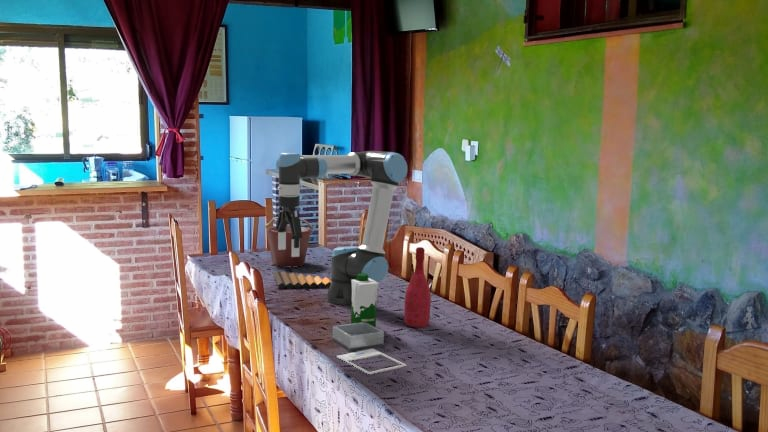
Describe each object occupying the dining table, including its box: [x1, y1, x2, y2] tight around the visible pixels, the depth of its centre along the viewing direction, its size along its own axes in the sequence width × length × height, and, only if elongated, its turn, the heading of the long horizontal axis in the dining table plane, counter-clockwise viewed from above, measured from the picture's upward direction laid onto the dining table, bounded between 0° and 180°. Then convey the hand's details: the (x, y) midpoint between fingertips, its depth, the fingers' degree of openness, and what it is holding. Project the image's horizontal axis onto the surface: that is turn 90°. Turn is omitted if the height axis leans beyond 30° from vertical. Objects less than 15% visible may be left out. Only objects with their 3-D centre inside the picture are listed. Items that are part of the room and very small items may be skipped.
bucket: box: [264, 216, 314, 268], centre depth 365 cm, size 24×22×25 cm
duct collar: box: [332, 322, 385, 352], centre depth 243 cm, size 13×13×5 cm
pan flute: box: [272, 270, 331, 290], centre depth 329 cm, size 25×3×25 cm
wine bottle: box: [403, 246, 432, 329], centre depth 266 cm, size 10×10×30 cm
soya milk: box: [350, 273, 380, 328], centre depth 259 cm, size 9×9×20 cm
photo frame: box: [336, 348, 407, 375], centre depth 226 cm, size 15×1×18 cm
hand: (288, 253), depth 258 cm, fingers open, 13 cm apart
